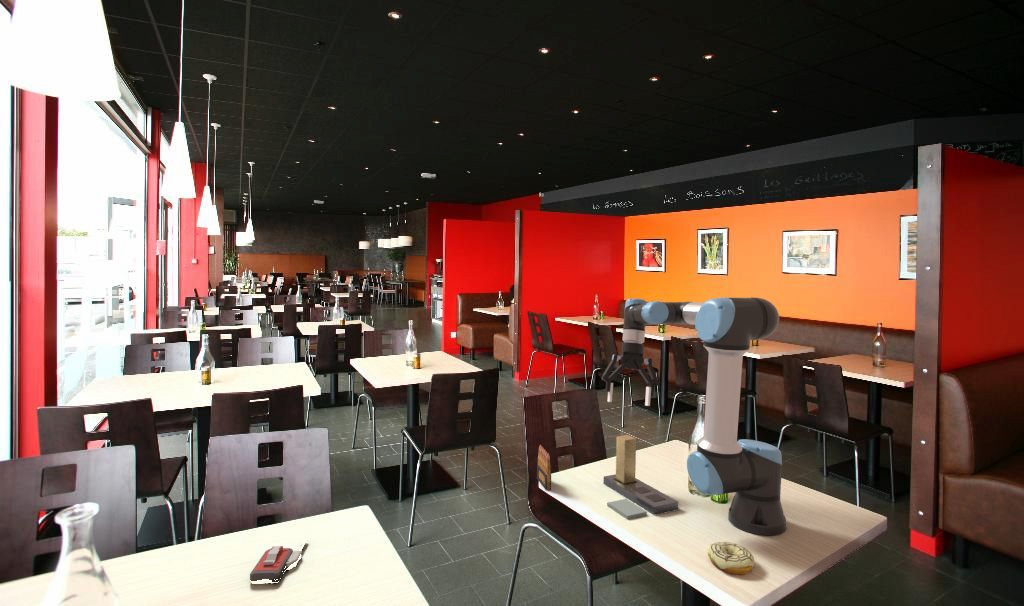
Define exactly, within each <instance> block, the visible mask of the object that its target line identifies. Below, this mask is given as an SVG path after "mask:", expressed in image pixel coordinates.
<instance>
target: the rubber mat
mask: <svg viewBox="0 0 1024 606" xmlns="http://www.w3.org/2000/svg"><path fill="white" fill-rule="evenodd" d="M606 506H607V507H608V508H610V509H611V510H613V511H615V512H616V513H617V514H619V515H620V516H622V517H623V518H625V519H626V520H631V519H634V518H639V517H645V516H647V515H648V511H647V510H645V509H643V508H642V507H640V506H639V505H637V504H635V503H634V502H632V501H631V500H629V499H627V498H623V499H618V500H613V501H608V502H606ZM644 515H645V516H644Z"/></svg>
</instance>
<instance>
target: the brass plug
mask: <svg viewBox="0 0 1024 606" xmlns="http://www.w3.org/2000/svg"><path fill="white" fill-rule="evenodd" d="M615 447H616V452H615V454H616V455H615V457H616V458H615V474H616V481H617V482H619V483H621V484H622V485H628V484H633V483H635V478H636V470H637V469H636V465H637V461H636V460H637V458H636V457H637V456H636V455H637V438H635V437H633V436H631V435H629V434H625V435H617V436H616V446H615Z"/></svg>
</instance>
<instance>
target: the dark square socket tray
mask: <svg viewBox="0 0 1024 606" xmlns="http://www.w3.org/2000/svg"><path fill="white" fill-rule="evenodd" d="M603 485H604V486H606V487H608V488H610V489H611V490H613V491H614V492H616V493H618V494H620V496H623V497H624V498H625V499H627V500H629V501H630V502H632V503H634V504H635V503H636V504H635V505H637V506H638V507H640V508H642V509H643V508H644V509H643V510H645V511H646V512H647V513H650V514H652V515H653V516H656V515H661V513H662V514H666V513H670V511H671V512H675V511H678V510H679V500H676V499H674V498H673V497H671V496H669V495H667V494H665V493H663V492H661V491H660V490H658V489H656V488H654V487H652V486H651V485H648V483H645V482H643V481H641V480H640V479H637V477H635V483H633V484H628V485H622V484H621V483H619V482H617V481H616V473H614V474H610V475H603ZM674 510H675V511H674ZM665 512H666V513H665Z"/></svg>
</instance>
